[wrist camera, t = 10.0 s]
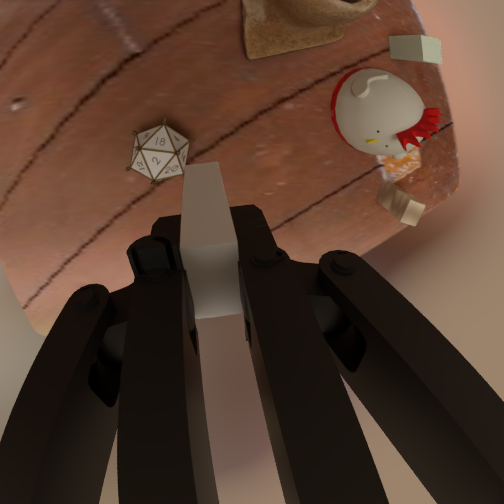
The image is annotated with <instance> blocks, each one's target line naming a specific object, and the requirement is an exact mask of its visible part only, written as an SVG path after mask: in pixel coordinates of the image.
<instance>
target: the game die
mask: <svg viewBox="0 0 504 504" xmlns="http://www.w3.org/2000/svg"><path fill="white" fill-rule="evenodd" d="M162 121H163V122H162V123H163V124H162V125H159V126H156V127H153V128H151V129H148V130H146V131H143V132H140V133H137V132H136V131H132V134H134V135H136V137H135V142H134V147H133V153H132V158H131V164H130V167H126V169H125V170H124V171H129V170H130V169H133V170H134V171H136V172H138V173H140V174H141V175H143V176H145V177H147V178H149V179H150V180H152V183H151V185H152V187H153V186H157V185H158V181H161V180H165V179H168V178H172V177H176V176H180V175H183V176H184V174H185V173H184V172H185V165H186V161H187V155H188V149H189V144H190V142H192V141H194V140H195V139H196V138H193V137H192V138H191V139H190V140H189V139H187V138H186V137H184V136H183V135H181V134H180V133H178V132H176V131H175V130H173V129H172V128H170V127H169V126H167V125H166V123H167V122H166V121H167V120H166V118H164V119H163V120H162Z"/></svg>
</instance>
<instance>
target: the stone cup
mask: <svg viewBox="0 0 504 504" xmlns="http://www.w3.org/2000/svg"><path fill="white" fill-rule="evenodd" d="M241 2H242V5H243V9H242V15H243V27H244V34H243V39H244V45H245V49H246V53H247V57H248V58H249V59H257V58H262V57H267V56H271V55H276V54H281V53H285V52H289V51H294V50H300V49H305V48H309V47H314V46H319V45H324V44H328V43H332V42H335V41H337V40H339V39H340V38H342V37H343V35H344V32H345V28H344V24H345V23H348V22H351V21H353V20H355V19H358V18H360V17H362V16H364V15H365V14H367V13H368V12H370V11H371V10H372V9H373V8H374V7H375V6H376V4H377V3H378V0H241Z"/></svg>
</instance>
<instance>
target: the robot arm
mask: <svg viewBox="0 0 504 504" xmlns="http://www.w3.org/2000/svg"><path fill="white" fill-rule="evenodd" d="M126 253H127V256H128V259H129V262H130V265H131V267H132V270H133V273H134V276H135V278H134V282H133V283H132V284H130V285H129V286H127V287H124V288H122V289H119V290H117V291H114V292H111V293H109V291H108V289H107V288H106V287H105V286H104V285H100V284H89V285H86V286H83V287H81V288H80V289H78V290H77V291H75V292H74V293H73V294H72V296H71V297H70V298H69V299H68V301H67V303H66V304H65V306H64V308H63V309H62V311H61V313H60V314H59V316H58V318H57V319H56V321H55V323H54V325H53V326H52V328H51V330H50V332H49V334H48V335H47V337H46V339H45V341H44V343H43V345H42V347H41V349H40V350H39V352H38V355H37V356H36V358H35V360H34V362H33V365H32V366H31V369H30V371H29V373H28V375H27V377H26V379H25V381H24V383H23V386H22V388H21V390H20V392H19V395H18V397H17V399H16V402H15V404H14V407H13V409H12V411H11V414H10V417H9V419H8V422H7V425H6V427H5V430H4V433H3V436H2V438H1V441H0V504H99V500H100V496H101V491H102V487H103V482H104V478H105V474H106V470H107V465H108V461H109V457H110V454H111V449H112V446H113V442H114V438H115V435H116V431H117V428H118V432H117V470H118V472H117V473H118V496H119V504H219V500H218V494H217V489H216V482H215V477H214V470H213V464H212V458H211V450H210V443H209V436H208V428H207V420H206V412H205V404H204V395H203V385H202V375H201V364H200V353H199V340H198V331H197V328H196V324H195V316H196V319H202V318H210V317H218V316H225V315H231V314H238V313H244V321H245V334H246V341H248V343H249V348H250V353H251V357H252V362H253V366H254V371H255V375H256V380H257V385H258V389H259V394H260V398H261V402H262V407H263V411H264V415H265V420H266V424H267V429H268V433H269V437H270V441H271V445H272V450H273V454H274V458H275V462H276V466H277V470H278V475H279V478H280V483H281V486H282V491H283V495H284V499H285V503H286V504H389V502H388V499H387V497H386V493H385V491H384V488H383V485H382V483H381V479H380V477H379V474H378V471H377V469H376V466H375V463H374V460H373V458H372V455H371V452H370V450H369V447H368V444H367V442H366V439H365V436H364V434H363V431H362V429H361V426H360V424H359V421H358V418H357V416H356V413H355V411H354V408H353V406H352V403H351V401H350V398H349V396H348V393H347V391H346V388H345V386H344V383H343V381H342V378H341V376H342V377H343V378H344V380H345V381H346V382H347V384H348V385H349V386H350V387H351V389H352V390H353V392H354V393H355V394H356V395H357V397H358V398H359V400H360V401H361V402H362V404H363V405H364V406H365V408H366V409H367V410H368V412H369V413H370V414H371V416H372V417H373V418H374V420H375V421H376V422H377V424H378V425H379V426H380V428H381V429H382V431H383V432H384V433H385V435H386V436H387V437H388V439H389V440H390V441H391V442H392V444H393V445H394V446H395V448H396V449H397V451H398V452H399V453H400V455H401V456H402V457H403V458H404V460H405V461H406V462H407V464H408V465H409V466H410V468H411V469H412V470H413V472H414V473H415V475H416V476H417V477H418V479H419V480H420V481H421V483H422V484H423V485H424V487H425V488H426V489H427V491H428V492H429V493H430V495H431V496H432V497H433V499H434V500H435V501H436V503H437V504H504V402H503V401H502V399H501V398H500V397H499V396H498V395H497V393H496V392H495V391H494V390H493V389H492V388H491V387H490V386H489V384H488V383H487V382H486V381H485V380H484V378H483V377H482V376H481V375H480V374H479V373H478V372H477V371H476V370H475V369H474V367H473V366H472V365H471V364H470V363H469V362H468V361H467V360H466V359H465V358H464V357H463V355H462V354H461V353H460V352H459V351H458V350H457V349H456V348H455V347H454V346H453V345H452V344H451V343H450V342H449V341H448V340H447V339H446V338H445V337H444V336H443V335H442V334H441V333H440V331H439V330H437V329H436V327H435V326H434V325H432V323H430V321H429V320H428V319H427V318H426V317H424V316H423V315H422V314H421V313H420V312H419V311H418V310H417V309H416V308H415V307H414V306H413V305H412V304H411V303H410V302H409V301H408V300H407V299H406V298H405V297H404V296H403V295H402V294H401V293H399V292H398V291H397V290H396V289H395V288H394V287H393V286H392V285H391V284H390V283H389V282H388V281H387V280H385V279H384V278H383V277H382V276H381V275H380V274H379V273H378V272H377V271H376V270H375V269H373V268H372V267H371V266H370V265H369V264H368V263H367V262H366V261H364V260H363V259H362V258H361V257H359V256H358V255H356V254H355V253H352V252H348V251H343V250H335V251H329V252H327V253H325V254H324V255H322V257H321V258H320V260H319V264H315V263H303V262H297V261H294V260H291V259H290V258H289V256H288V254H287V253H286V252H285V251H284V250H282V249H280V248H279V247H277V245H276V242H275V240H274V238H273V235H272V233H271V231H270V228H269V226H268V224H267V221H266V219H265V217H264V215H263V212H262V210H261V209H259V208H258V207H256V206H255V205H253V204H252V205H243V206H235V207H229V205H228V201H227V196H226V192H225V188H224V184H223V180H222V176H221V171H220V167H219V163H218V161H217V162H208V163H200V164H192V165H185V174H184V186H183V199H182V214H180V215H173V216H166V217H159V218H158V220H157V221H156V222H155V223H154V224H153V225H152V230H151V235H148V236H144V237H142V238H140V239H138V240H136V241H135V242H134V243H132V244H131V245H130V246H129V248H128V250H127V251H126ZM340 374H341V376H340Z"/></svg>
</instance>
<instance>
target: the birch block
mask: <svg viewBox="0 0 504 504" xmlns="http://www.w3.org/2000/svg"><path fill="white" fill-rule="evenodd" d="M376 201H377V202H378V203H379V204H381V205H382V206H383V207H384V208H385V209H386V210H388V211H389V212H390V213H391V214H392V215H393V216H394V217H395V218H397V219H398V220H399V221H400V222H403V223H406V224H409V225H413V226H416V224H417V222H418V220H419V218H420V216H421V214H422V212H423V210H424V208H425V205H424V204H423V203H422V202H420V201H419V200H418V199H416V198H415V197H413V196H412V195H411V194H409V193H408V192H407V191H405V190H404V189H402V188H401V187H400V186H397V185H395V184H392V183H390V182H387V181H385V180H384V181H383V184H382V186H381V188H380V191H379V193H378V195H377V197H376Z"/></svg>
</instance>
